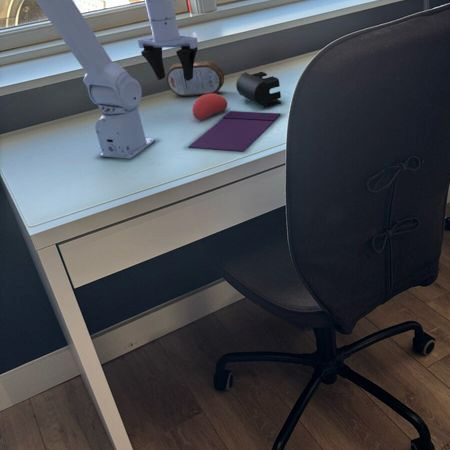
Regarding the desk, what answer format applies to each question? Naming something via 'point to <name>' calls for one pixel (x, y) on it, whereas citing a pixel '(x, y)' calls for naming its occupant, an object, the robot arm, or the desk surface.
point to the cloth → (235, 131)
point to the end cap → (259, 89)
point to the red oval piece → (208, 105)
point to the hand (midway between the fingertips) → (175, 79)
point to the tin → (195, 79)
